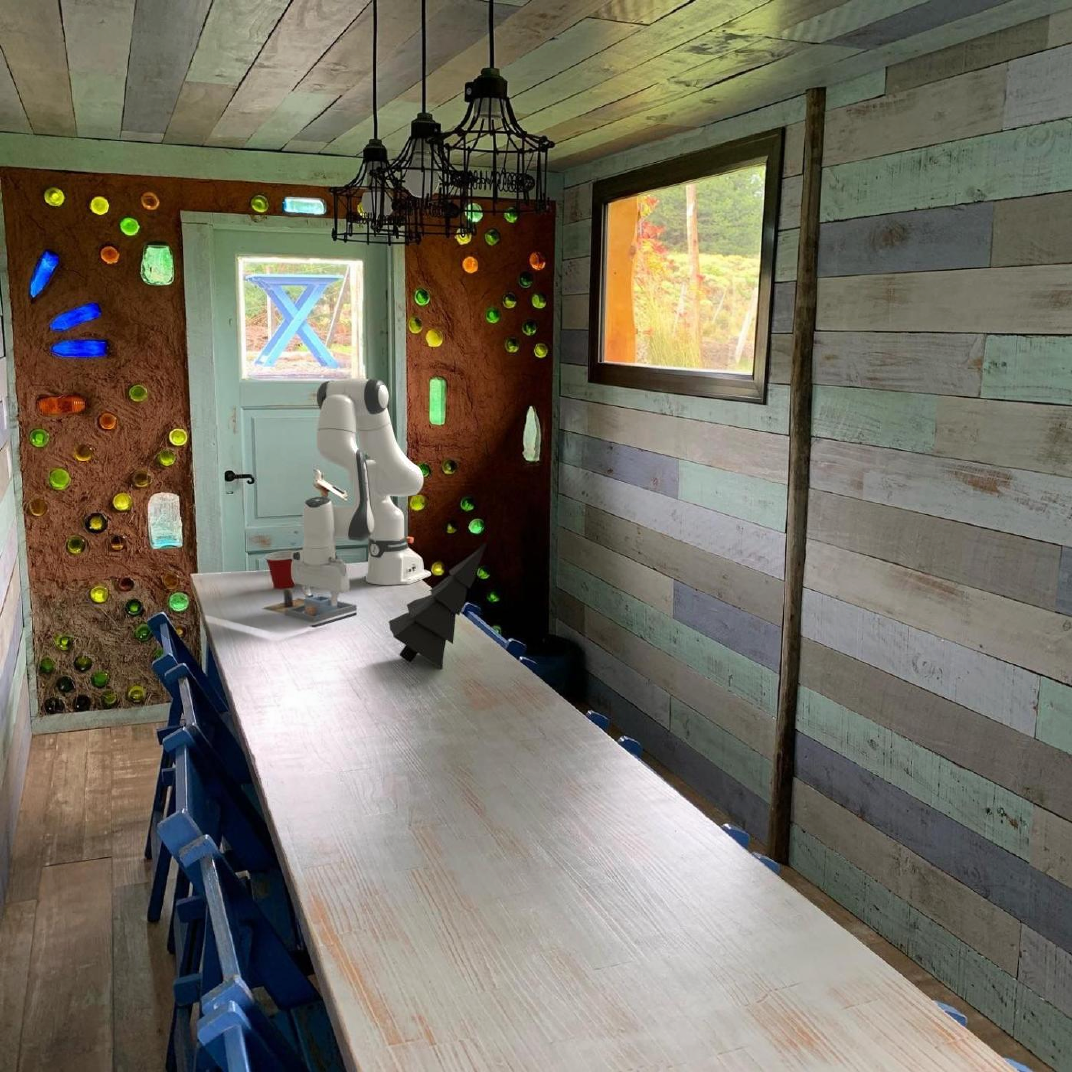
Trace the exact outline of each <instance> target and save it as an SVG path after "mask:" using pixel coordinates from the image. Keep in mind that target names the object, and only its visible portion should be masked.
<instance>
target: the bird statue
mask: <svg viewBox="0 0 1072 1072" xmlns="http://www.w3.org/2000/svg"><path fill="white" fill-rule="evenodd" d="M313 472H314V473H315V475H314V476H313V478H314V479H313V481H312V482H313V483H312V485H313V487H315V488H316V489H317V490H319V491H320V495H321V497H326V498H328V497H329V492H332V493H333V494H335V495H336V496H337V497H340V499H342V501H344V502H348V500H347V498H348V497H349V495H348V493H347V492H346V490H345V489H341V488H340V487H339V486H337V485H335V484H333V485H331V484H330V483H329V482H327V481H326V480H325V478H324V477H325V476H326V474H325V475H324V472H321V471H320V470H319V469H318V468H313ZM335 559H339V558H338V555H337V552H336V551H335Z"/></svg>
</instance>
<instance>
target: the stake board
mask: <svg viewBox="0 0 1072 1072" xmlns="http://www.w3.org/2000/svg"><path fill="white" fill-rule="evenodd" d="M293 595H294V594H293V589H292V588H287V589H283V599H284V600H283V602H281V603H280V602H279V603H277V604H273V605H269V606H265V607H262V609H264V610H268V611H270V612H271V611H272V612H275V613H280V614H284V615H285V610H287V609H291V608H294V607H298V606H302V605H305V604H304V599H305V598H304V599H303V598H296V599H295V598H293Z"/></svg>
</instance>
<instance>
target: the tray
mask: <svg viewBox="0 0 1072 1072" xmlns="http://www.w3.org/2000/svg"><path fill="white" fill-rule="evenodd" d="M337 604H338V609H337V610H334V611H330V612H327V613H323V614H320V615H316V616H314V615H310V614H306V613H305V605H302V606H298V607H294V608H291V609H287V610H285V614H284V616H287V617H290V618H295V619H299V620H303V621H308V622H311V623H316V624H312V625H310V627H311V628H318V627H321V626H325V625H328V624H329V625H330V624H331V623H334V622H338V621H341V620H346V619H349V618H352V617H355V616H357V615H358V614H357V612H355V611H357V604H353V603H349V602H344V601H340V600H337ZM352 612H353V613H352ZM348 613H349V614H348ZM345 614H346V615H345ZM339 616H340V617H339ZM335 617H336V618H335ZM328 619H330V620H328ZM325 620H326V621H325ZM321 621H323V622H321Z"/></svg>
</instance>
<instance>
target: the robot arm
mask: <svg viewBox="0 0 1072 1072" xmlns="http://www.w3.org/2000/svg"><path fill="white" fill-rule="evenodd" d="M387 386H388V385H386V384H385V383H384V382H383V380H381V379H378V378H377V379H376V378H369V379H367V378H356V377H355V378H349V379H348V378H347V379H338V380H328V381H324V382H322V383H321V384H320V385H319V387H318V389H317V391H316V403H317V406H318V408H319V410H320V411H319V414H318V422H317V427H316V428H317V431H316V449H317V451H318V452H319V454H320V455H321V456H322V457H323V459H325V460H326V461H328V462H329V463H332V464H334V465H335V466H337V467H338V466H339V467H340V468H343V469H345V470H347V472H349V473H348V481H349V484H350V486H351V488H352V490H353V497H354V498H353V499H354V503H353V505H335V504H333V503H332V501H331V498H328V497H327V498H326V497H322V496H314V497H310V498H308V499H306V500H305V501H304V503H303V509H302V519H301V520H302V525H301V527H302V534H303V544H302V548H301V549H300V550H294V551H295V552H292V553H291V559H292V560H293V561H292V563H291V576H292V580H293V582H294V583H295V584H297V585H300V586H301V587H302V590H303V591H302V592H303V593H304V595H305V598H304V599H307V598H310V597H314V593H312V591H311V588H313V589H314V588H315V589H319V590H324V591H328V592H330V597H331V599H330V600H328V602H329V606H336V605H337V601H338V598H339V596H340V594H343V593H346V592H348V591H349V590H350V577H349V573H348V572H349V570H348V568H347V564H346V563H345V562H344V561H343V560H342V559H341V558H340V559H339V558H338V559H335V552H336V542H335V540H349V541H356V542H363V541H365V540H367V539H368V542H367V543H368V549H369V552H368V559H367V560H368V561H367V572H366V573H365V582H367V583H369V584H373V585H382V586H392V585H411V584H413V583H416V582H418V581H420V580H423V579H425V578H428V577H430V576H431V575H432V573H431V571H429V570H427V569H424V568H425V567H424V561H423V558H422V557H421V556H420V555H419V554H418V553H416V552H415V551H413V549H411V548H410V547H409V544H413V543H414V540H415V539H414V537H412V536H407V537H405V517H404V513H403V511H402V510H401V509H400V508H399V507H397V506H396V505H395V503H393V501H392V499H391V497H400V498H404V497H410V496H416V495H417V494H418V493H420V491H421V490H422V488H423V485H424V475H423V474H424V473H423V472H422V470H421V467H419V466H418V465H416V464H414V463H413V462H412V461H411V460H410V459H409V458H408V457H407V456H406V455H405V454H404V452H403V451H402V449H401V447H400V446H399V444H398V442H397V439H396V436H395V433H394V430H393V426H392V421H391V418H390V413H389V409H388V406H389V402H390V394H389V393H390V392H389V389H388V387H387ZM356 436H357V439H358V442H359V447H360V449H361V450H360V449H359V447H358V444H357V440H356ZM366 455H367V457H368V458H369V457H370V458H371V459H366ZM418 579H419V580H418Z"/></svg>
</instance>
